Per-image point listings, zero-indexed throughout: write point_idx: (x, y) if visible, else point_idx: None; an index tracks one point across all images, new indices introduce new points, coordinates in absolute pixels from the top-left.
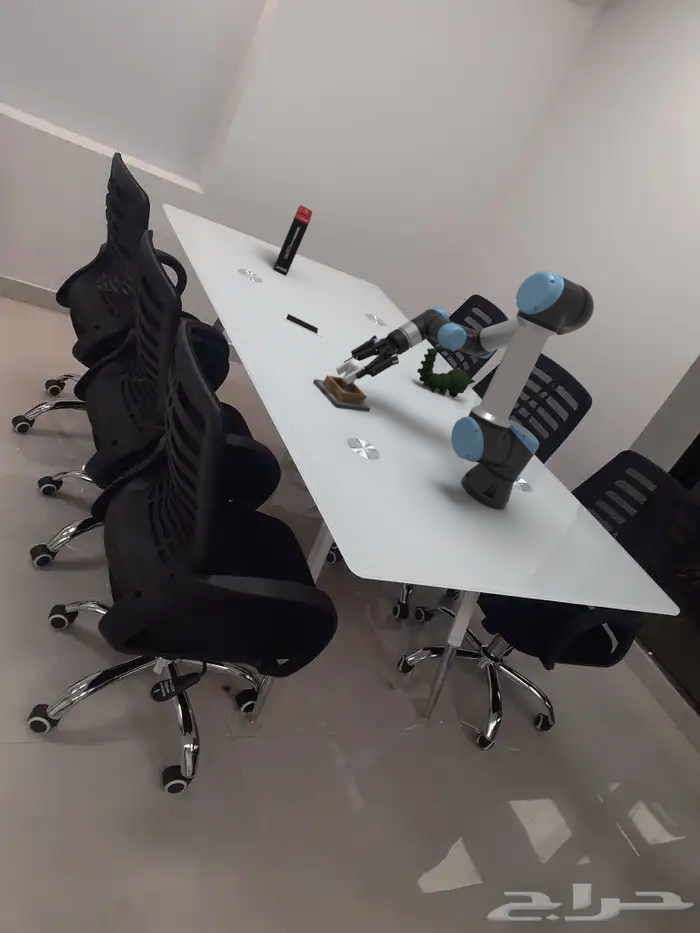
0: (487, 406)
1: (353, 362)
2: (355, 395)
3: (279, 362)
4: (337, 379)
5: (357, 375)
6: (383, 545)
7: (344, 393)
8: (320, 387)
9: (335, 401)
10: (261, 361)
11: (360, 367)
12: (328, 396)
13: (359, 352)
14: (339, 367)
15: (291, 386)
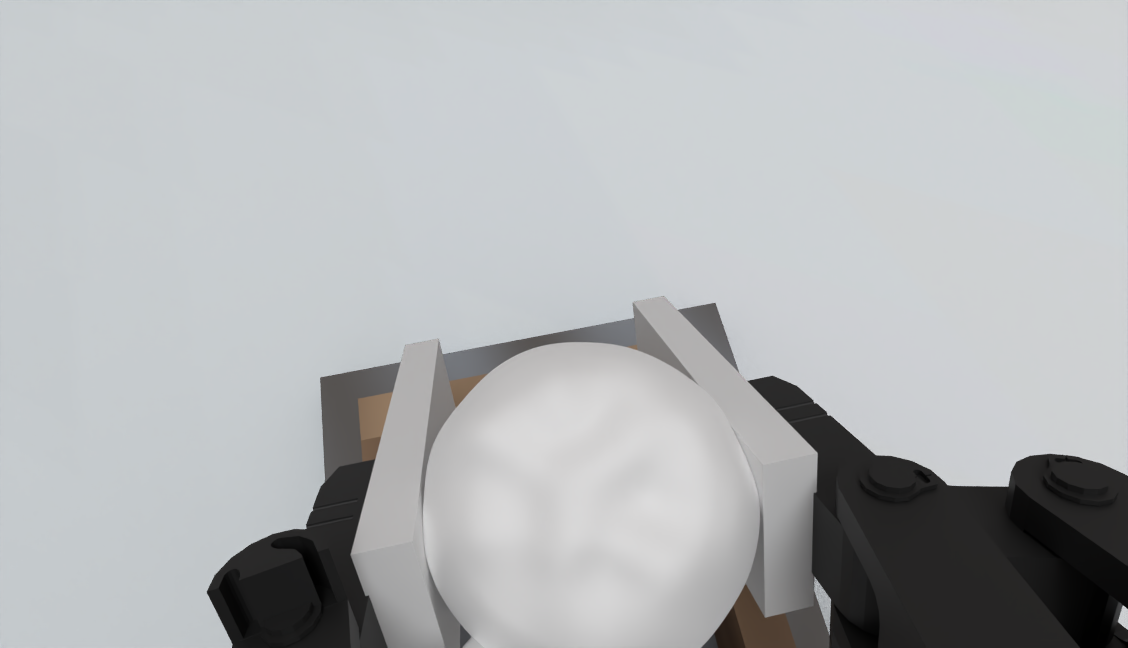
0: None
1: (542, 353)
2: None
3: (868, 125)
4: None
5: (347, 472)
6: None
7: (360, 417)
8: (605, 329)
9: (363, 373)
10: (776, 8)
11: (425, 511)
12: (467, 354)
13: (1041, 617)
14: (648, 314)
15: (526, 105)
